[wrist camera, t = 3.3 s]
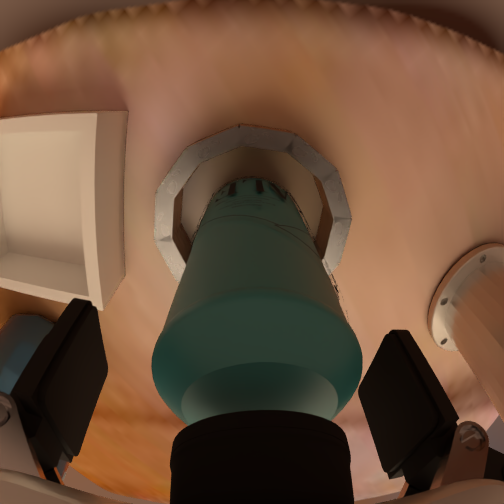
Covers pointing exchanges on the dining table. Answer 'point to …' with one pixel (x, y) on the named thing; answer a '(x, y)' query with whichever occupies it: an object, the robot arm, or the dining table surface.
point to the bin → (63, 204)
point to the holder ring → (325, 174)
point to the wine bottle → (22, 353)
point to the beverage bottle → (257, 359)
